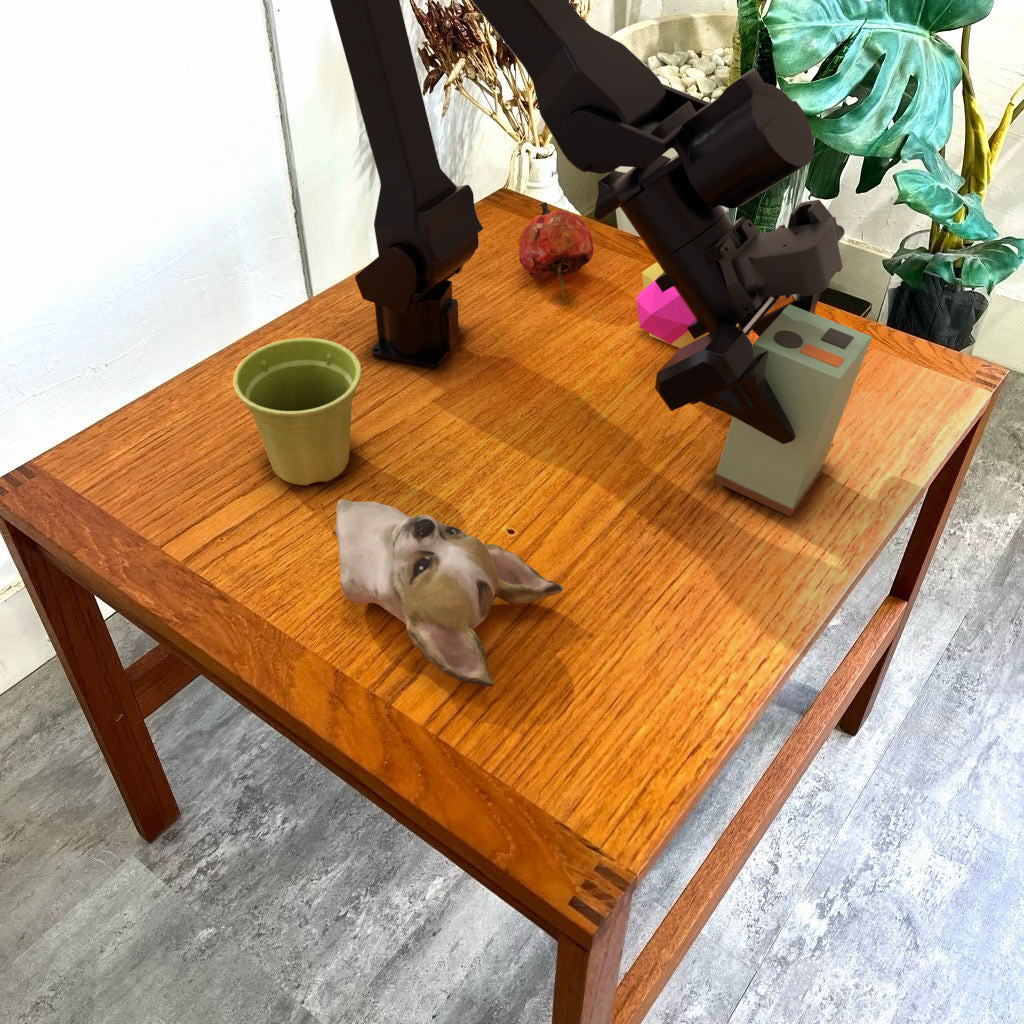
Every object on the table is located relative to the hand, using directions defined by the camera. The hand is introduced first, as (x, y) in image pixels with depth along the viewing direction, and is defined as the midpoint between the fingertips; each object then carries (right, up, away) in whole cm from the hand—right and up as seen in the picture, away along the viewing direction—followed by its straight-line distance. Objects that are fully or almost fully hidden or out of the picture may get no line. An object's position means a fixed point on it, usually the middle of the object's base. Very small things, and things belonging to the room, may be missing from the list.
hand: (808, 414), depth 76 cm
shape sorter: (-2, -4, +6) cm, 7 cm away
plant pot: (-38, -3, +7) cm, 39 cm away
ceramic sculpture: (-27, -14, -5) cm, 31 cm away
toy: (-5, +9, +20) cm, 23 cm away
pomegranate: (-17, +16, +28) cm, 36 cm away
